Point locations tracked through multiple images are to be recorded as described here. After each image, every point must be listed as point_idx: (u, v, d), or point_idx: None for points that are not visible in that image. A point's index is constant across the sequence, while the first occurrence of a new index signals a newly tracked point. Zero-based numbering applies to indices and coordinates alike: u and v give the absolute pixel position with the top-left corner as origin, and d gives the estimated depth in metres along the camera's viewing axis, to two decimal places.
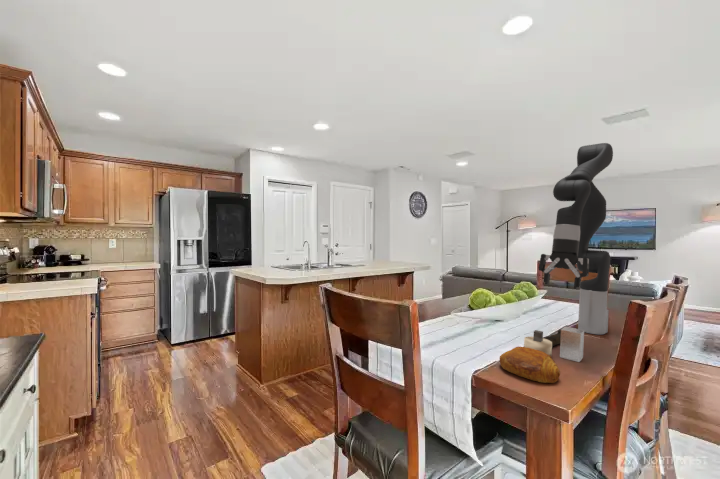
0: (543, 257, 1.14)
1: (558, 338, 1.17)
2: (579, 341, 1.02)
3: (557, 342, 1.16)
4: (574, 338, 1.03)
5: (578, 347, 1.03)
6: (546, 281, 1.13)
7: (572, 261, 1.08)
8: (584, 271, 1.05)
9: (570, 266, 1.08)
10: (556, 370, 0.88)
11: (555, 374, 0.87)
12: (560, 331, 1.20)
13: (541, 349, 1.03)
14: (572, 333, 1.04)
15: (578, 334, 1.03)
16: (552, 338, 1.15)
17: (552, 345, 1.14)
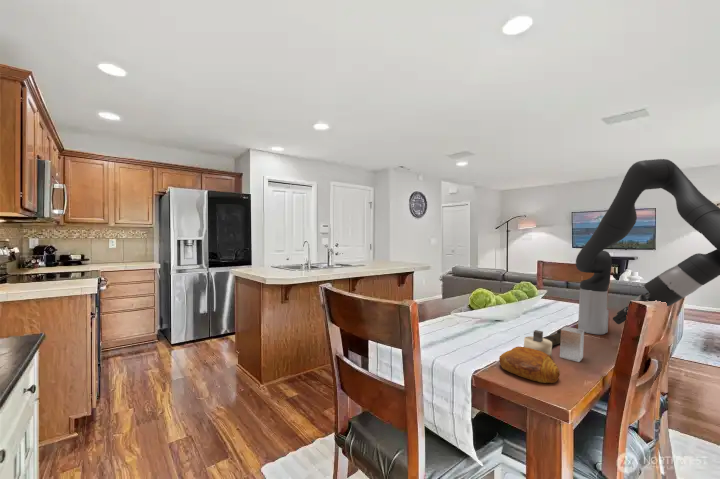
0: None
1: (558, 338, 1.17)
2: (579, 341, 1.02)
3: (557, 342, 1.16)
4: (574, 338, 1.03)
5: (578, 347, 1.03)
6: (621, 322, 0.94)
7: None
8: None
9: None
10: (556, 370, 0.88)
11: (555, 374, 0.87)
12: (559, 331, 1.20)
13: (541, 349, 1.03)
14: (572, 333, 1.04)
15: (578, 334, 1.03)
16: (552, 338, 1.15)
17: (552, 345, 1.14)
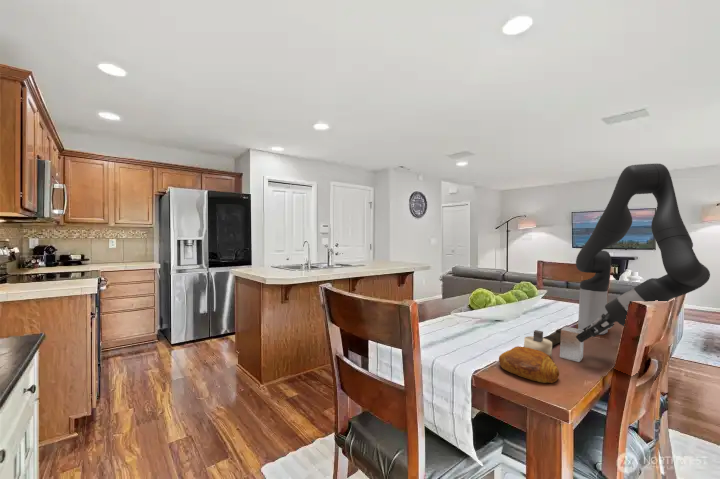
0: (607, 327, 0.95)
1: (557, 338, 1.17)
2: (579, 341, 1.02)
3: (556, 342, 1.16)
4: (574, 338, 1.03)
5: (578, 347, 1.03)
6: (584, 340, 1.00)
7: None
8: None
9: None
10: (555, 370, 0.88)
11: (554, 374, 0.87)
12: (558, 330, 1.21)
13: (541, 349, 1.03)
14: (572, 333, 1.04)
15: None
16: (552, 338, 1.15)
17: (552, 345, 1.14)
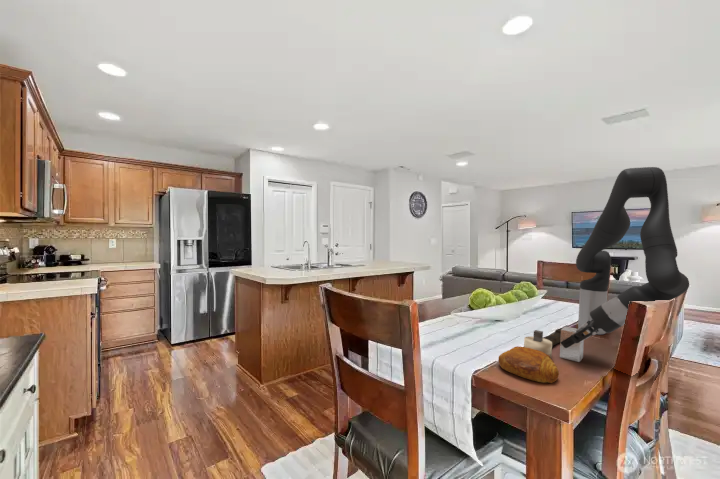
0: (589, 335, 0.98)
1: (557, 338, 1.17)
2: None
3: (556, 342, 1.16)
4: None
5: (578, 347, 1.03)
6: (568, 346, 1.04)
7: None
8: None
9: None
10: (555, 370, 0.88)
11: (554, 374, 0.87)
12: (558, 330, 1.21)
13: (541, 349, 1.03)
14: (572, 333, 1.04)
15: None
16: (552, 338, 1.15)
17: (552, 345, 1.14)
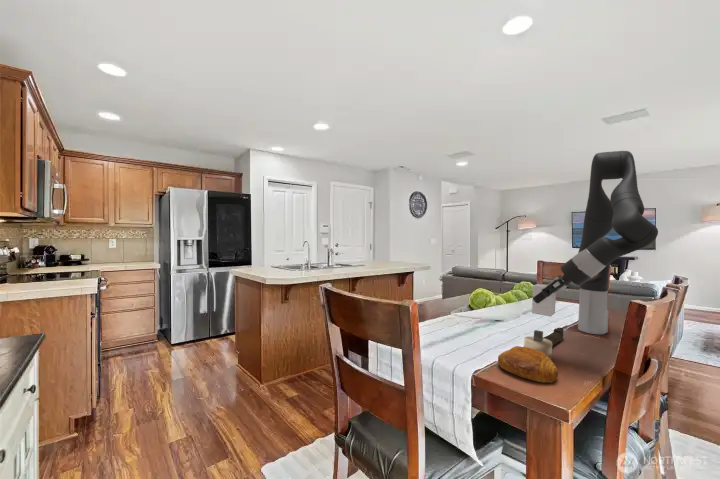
0: (559, 287, 0.98)
1: (556, 337, 1.17)
2: (550, 295, 1.02)
3: (556, 341, 1.17)
4: None
5: (549, 301, 1.03)
6: (540, 301, 1.04)
7: None
8: None
9: None
10: (554, 370, 0.88)
11: (553, 374, 0.87)
12: (556, 330, 1.21)
13: (542, 349, 1.03)
14: None
15: None
16: (552, 338, 1.15)
17: (552, 345, 1.14)
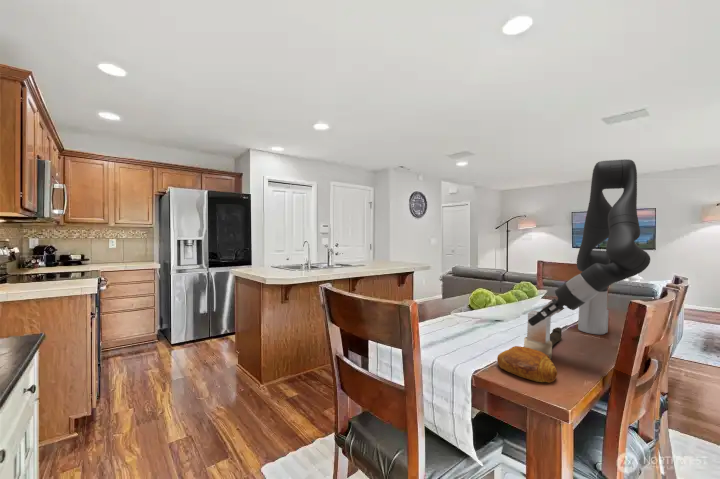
0: (555, 311, 0.98)
1: (556, 337, 1.17)
2: (545, 324, 1.03)
3: (555, 341, 1.17)
4: (540, 321, 1.04)
5: (544, 330, 1.04)
6: None
7: None
8: None
9: None
10: (553, 370, 0.88)
11: (552, 374, 0.87)
12: (555, 330, 1.21)
13: (542, 349, 1.03)
14: None
15: None
16: (552, 338, 1.15)
17: None
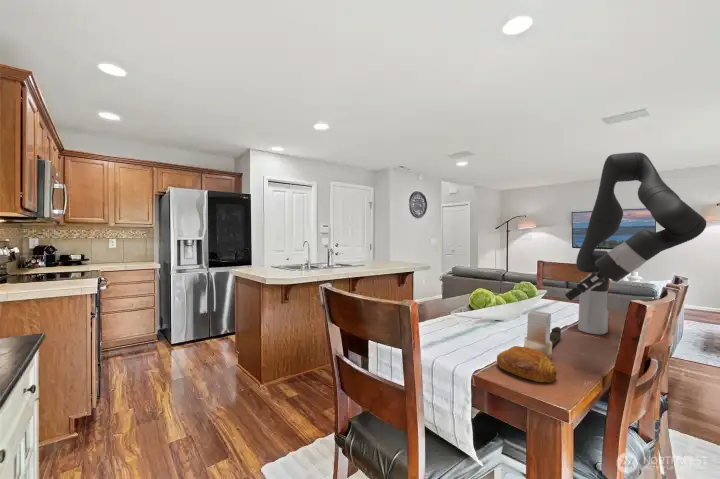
0: (597, 282, 0.91)
1: (556, 337, 1.17)
2: (545, 324, 1.03)
3: (555, 341, 1.17)
4: (540, 321, 1.04)
5: (544, 330, 1.04)
6: (573, 298, 0.97)
7: None
8: None
9: None
10: (552, 370, 0.88)
11: (551, 374, 0.87)
12: (554, 329, 1.22)
13: (542, 349, 1.03)
14: (538, 316, 1.05)
15: (544, 317, 1.04)
16: (552, 338, 1.15)
17: None
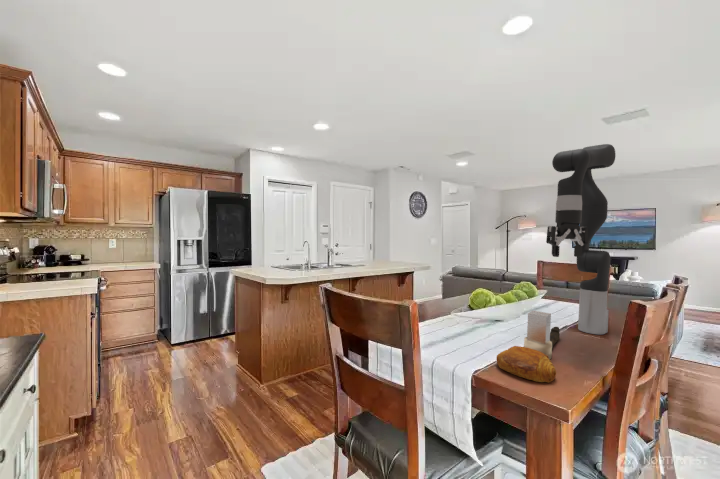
0: (555, 229, 1.10)
1: (555, 337, 1.18)
2: (545, 324, 1.03)
3: (555, 341, 1.17)
4: (540, 321, 1.04)
5: (544, 330, 1.04)
6: (558, 253, 1.10)
7: None
8: (586, 239, 1.12)
9: (577, 236, 1.11)
10: (552, 370, 0.88)
11: (551, 373, 0.87)
12: (554, 329, 1.22)
13: (542, 349, 1.03)
14: (538, 316, 1.05)
15: (544, 317, 1.04)
16: (552, 338, 1.15)
17: None
